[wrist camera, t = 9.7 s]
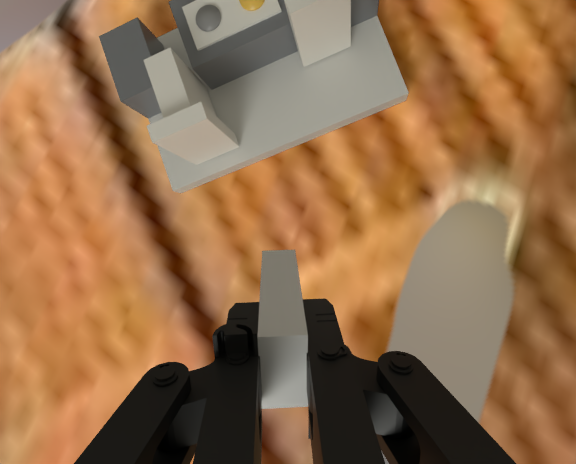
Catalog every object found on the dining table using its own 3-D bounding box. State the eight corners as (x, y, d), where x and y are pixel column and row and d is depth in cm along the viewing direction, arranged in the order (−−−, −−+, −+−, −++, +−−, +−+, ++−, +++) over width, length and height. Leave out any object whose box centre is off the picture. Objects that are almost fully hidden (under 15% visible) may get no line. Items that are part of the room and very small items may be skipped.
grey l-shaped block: (239, 146, 39) (207, 118, 30) (196, 165, 40) (152, 142, 31) (215, 81, 40) (177, 34, 31) (173, 100, 40) (124, 60, 32)
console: (405, 100, 39) (418, 66, 31) (181, 193, 42) (145, 182, 35) (348, -41, 40) (348, -105, 33) (136, 61, 44) (92, 24, 36)
